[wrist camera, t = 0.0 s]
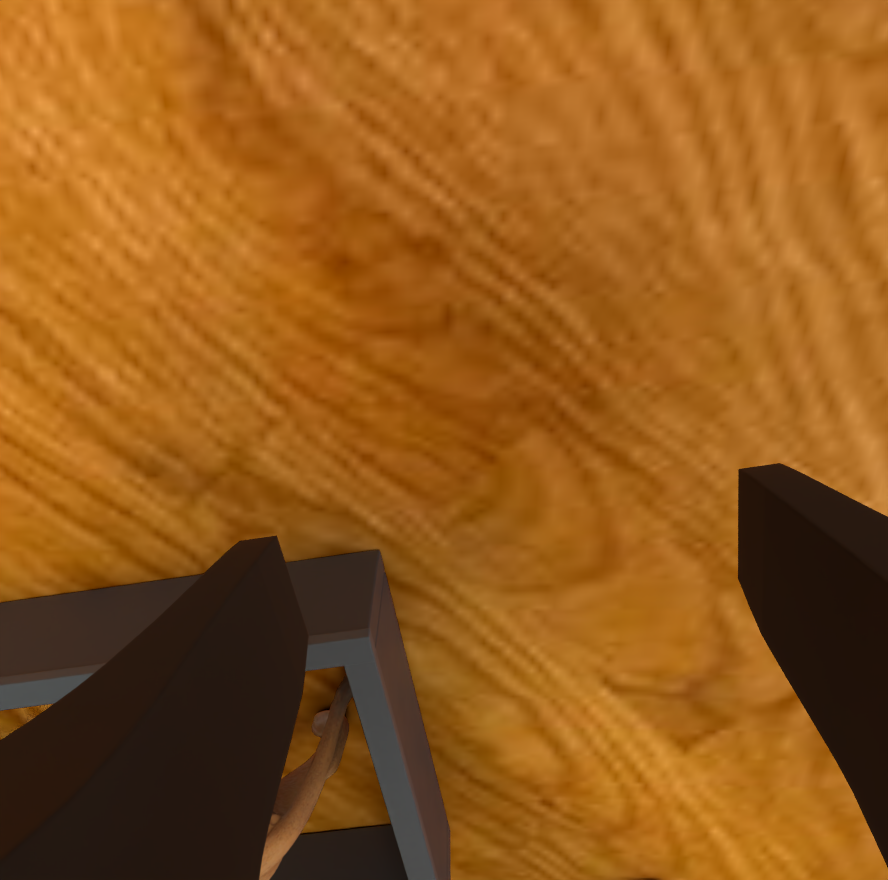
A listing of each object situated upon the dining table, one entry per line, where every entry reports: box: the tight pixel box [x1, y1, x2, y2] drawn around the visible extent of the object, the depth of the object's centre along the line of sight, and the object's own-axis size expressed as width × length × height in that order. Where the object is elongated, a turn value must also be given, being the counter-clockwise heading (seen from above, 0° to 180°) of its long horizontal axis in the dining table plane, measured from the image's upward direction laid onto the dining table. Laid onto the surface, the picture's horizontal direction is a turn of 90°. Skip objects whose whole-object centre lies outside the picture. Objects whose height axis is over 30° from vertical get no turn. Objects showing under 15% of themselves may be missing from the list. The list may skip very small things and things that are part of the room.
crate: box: [0, 550, 450, 880], centre depth 26 cm, size 14×18×4 cm
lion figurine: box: [259, 675, 353, 880], centre depth 23 cm, size 15×5×9 cm, turn 117°
